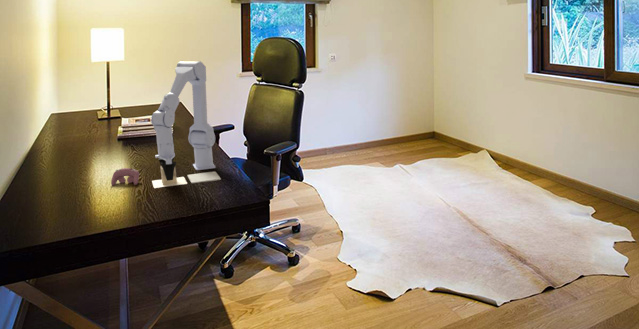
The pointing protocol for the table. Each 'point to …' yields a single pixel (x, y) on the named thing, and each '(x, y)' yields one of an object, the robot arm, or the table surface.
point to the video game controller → (123, 172)
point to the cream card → (159, 184)
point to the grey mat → (203, 177)
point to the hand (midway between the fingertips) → (168, 178)
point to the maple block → (166, 179)
